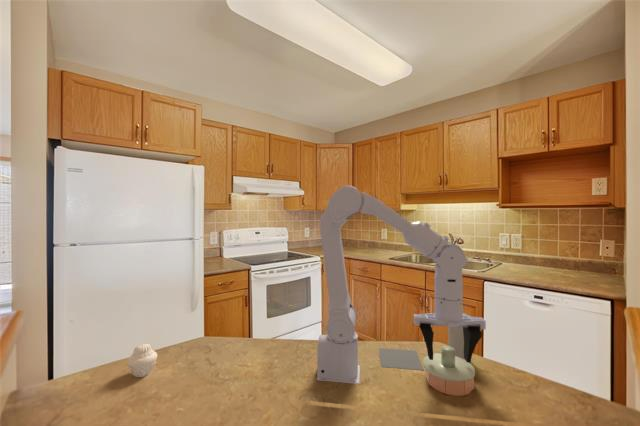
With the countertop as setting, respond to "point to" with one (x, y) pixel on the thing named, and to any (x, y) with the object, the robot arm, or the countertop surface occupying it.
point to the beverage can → (457, 340)
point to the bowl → (450, 385)
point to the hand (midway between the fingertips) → (448, 359)
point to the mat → (400, 359)
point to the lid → (449, 366)
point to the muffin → (142, 360)
